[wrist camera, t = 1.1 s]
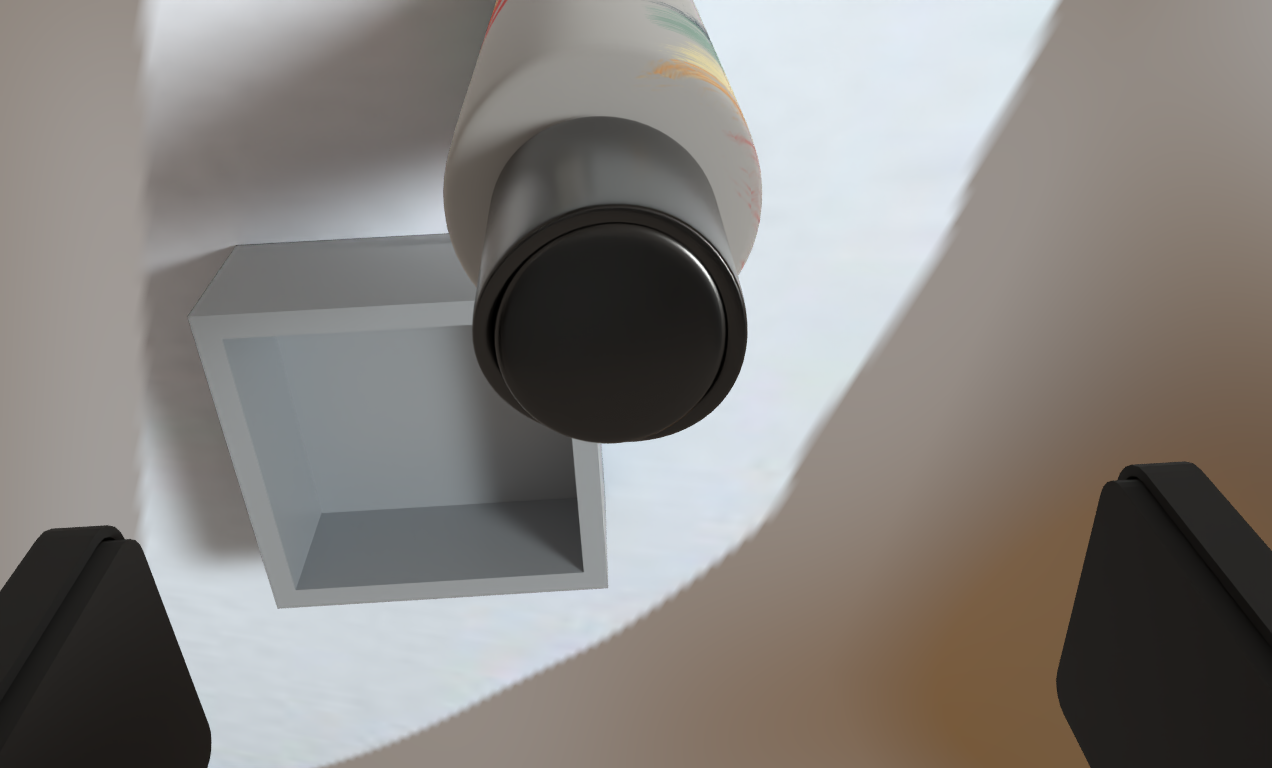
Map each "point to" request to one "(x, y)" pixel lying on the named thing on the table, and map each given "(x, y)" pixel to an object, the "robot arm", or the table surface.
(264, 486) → the box
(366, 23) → the table surface
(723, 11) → the table surface
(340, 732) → the table surface
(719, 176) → the lotion bottle
